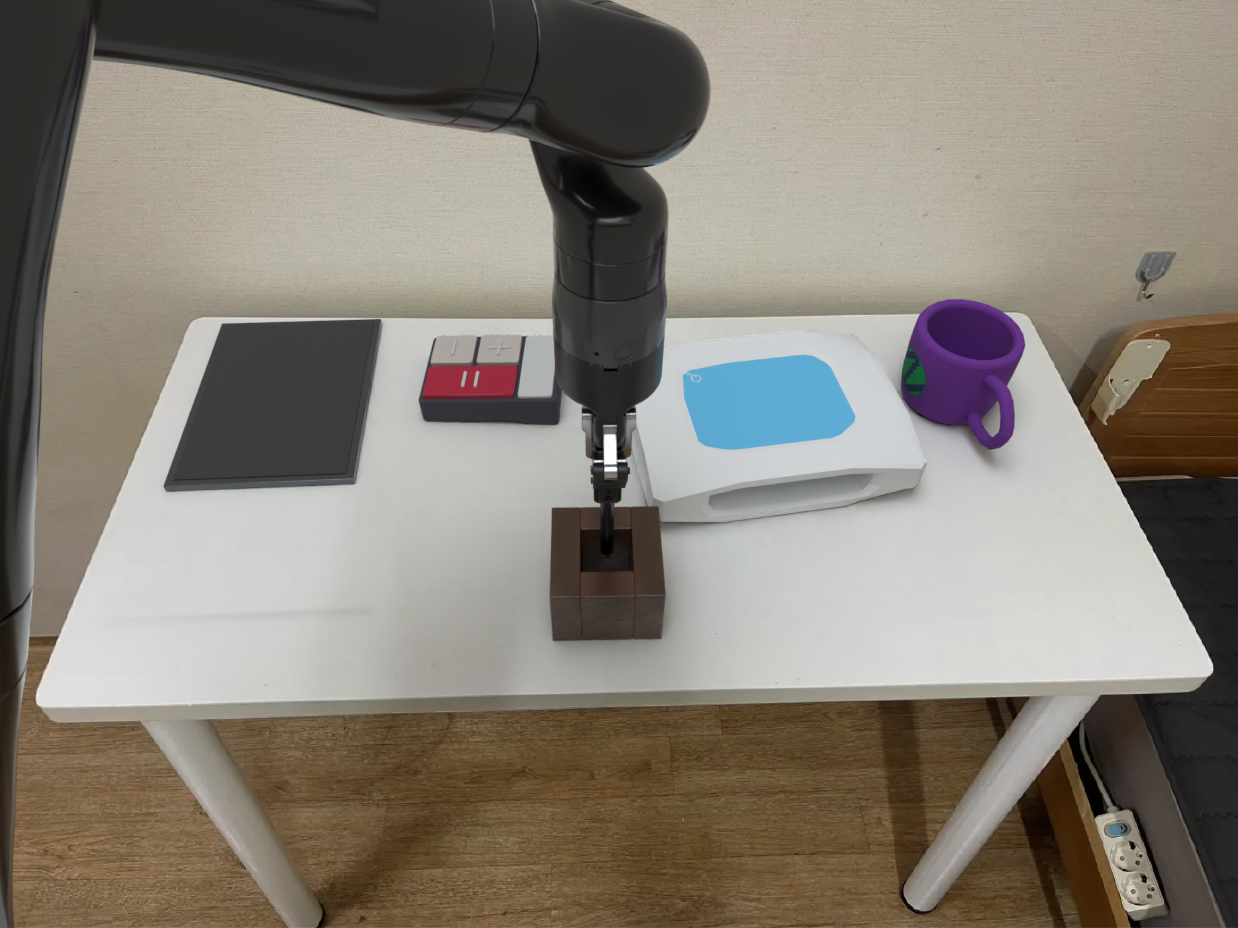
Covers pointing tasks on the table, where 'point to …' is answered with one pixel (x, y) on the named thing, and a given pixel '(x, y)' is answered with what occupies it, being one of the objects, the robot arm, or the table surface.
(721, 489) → the document scanner
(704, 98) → the robot arm
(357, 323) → the tablet
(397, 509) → the table surface
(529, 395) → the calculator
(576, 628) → the pen stand
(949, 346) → the mug
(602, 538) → the stylus
